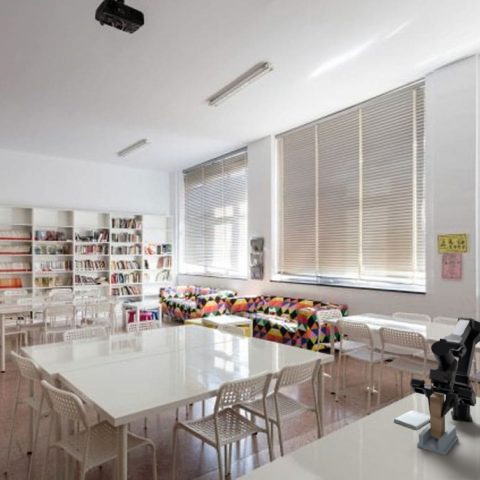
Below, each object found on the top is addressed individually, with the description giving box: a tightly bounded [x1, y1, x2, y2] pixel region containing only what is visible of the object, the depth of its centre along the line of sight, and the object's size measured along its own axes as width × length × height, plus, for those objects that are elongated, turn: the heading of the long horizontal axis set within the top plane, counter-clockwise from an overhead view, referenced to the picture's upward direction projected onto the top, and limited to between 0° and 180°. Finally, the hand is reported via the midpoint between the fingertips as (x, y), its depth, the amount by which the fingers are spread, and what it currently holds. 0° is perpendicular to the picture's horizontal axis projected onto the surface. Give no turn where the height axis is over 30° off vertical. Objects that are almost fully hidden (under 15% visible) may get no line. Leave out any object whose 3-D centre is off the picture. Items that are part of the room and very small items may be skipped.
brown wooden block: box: [429, 393, 446, 439], centre depth 128 cm, size 4×3×12 cm, turn 137°
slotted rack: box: [417, 423, 459, 456], centre depth 128 cm, size 14×8×4 cm, turn 137°
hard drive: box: [393, 409, 430, 430], centre depth 144 cm, size 2×8×12 cm
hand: (436, 415), depth 127 cm, fingers closed on brown wooden block, 3 cm apart
